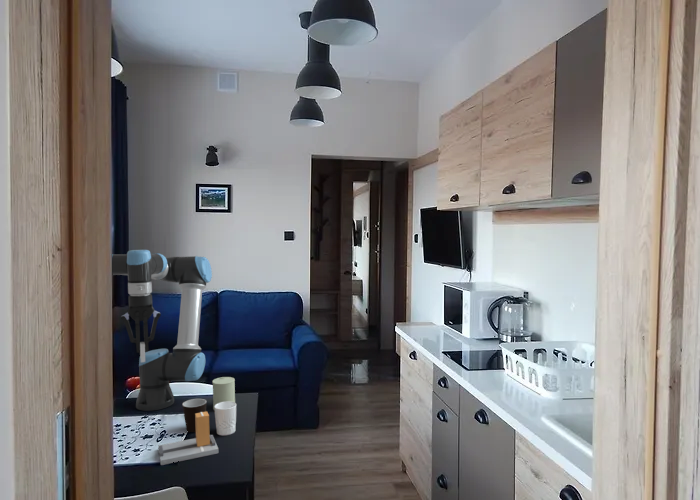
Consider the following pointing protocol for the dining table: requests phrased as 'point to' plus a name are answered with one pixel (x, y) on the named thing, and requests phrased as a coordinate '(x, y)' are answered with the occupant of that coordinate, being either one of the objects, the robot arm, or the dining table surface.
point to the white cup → (225, 417)
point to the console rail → (185, 450)
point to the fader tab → (202, 428)
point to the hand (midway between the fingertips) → (142, 361)
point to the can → (223, 390)
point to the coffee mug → (193, 412)
